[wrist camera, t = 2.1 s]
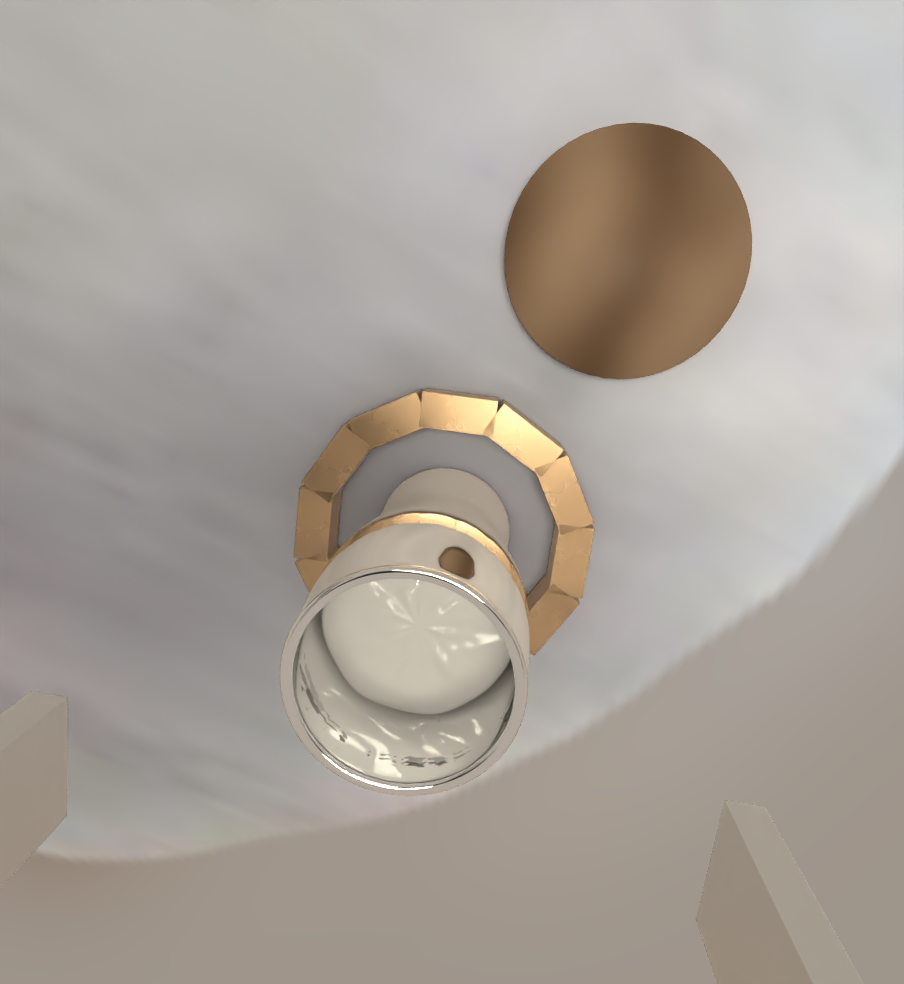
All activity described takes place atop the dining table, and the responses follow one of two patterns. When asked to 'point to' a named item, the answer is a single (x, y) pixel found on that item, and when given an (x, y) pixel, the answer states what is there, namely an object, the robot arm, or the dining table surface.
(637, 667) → the dining table surface
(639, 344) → the walnut coaster
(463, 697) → the beer glass
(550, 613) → the ring
